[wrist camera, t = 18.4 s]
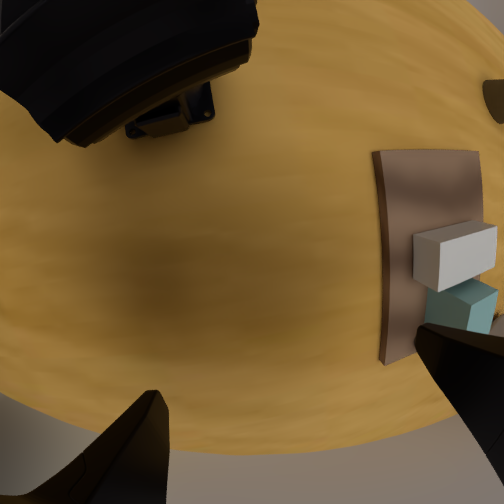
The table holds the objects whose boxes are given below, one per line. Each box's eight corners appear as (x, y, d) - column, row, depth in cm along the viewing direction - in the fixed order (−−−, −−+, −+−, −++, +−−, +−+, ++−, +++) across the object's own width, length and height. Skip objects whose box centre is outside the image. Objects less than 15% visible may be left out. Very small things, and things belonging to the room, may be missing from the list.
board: (372, 152, 19) (411, 146, 14) (470, 151, 20) (506, 150, 15) (379, 359, 24) (404, 389, 19) (466, 318, 25) (493, 336, 20)
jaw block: (428, 281, 21) (471, 305, 16) (457, 271, 22) (498, 290, 16) (424, 322, 23) (461, 351, 17) (452, 309, 23) (488, 333, 17)
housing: (413, 234, 20) (440, 242, 16) (472, 220, 20) (497, 225, 17) (413, 278, 21) (437, 292, 17) (471, 257, 21) (494, 266, 18)
